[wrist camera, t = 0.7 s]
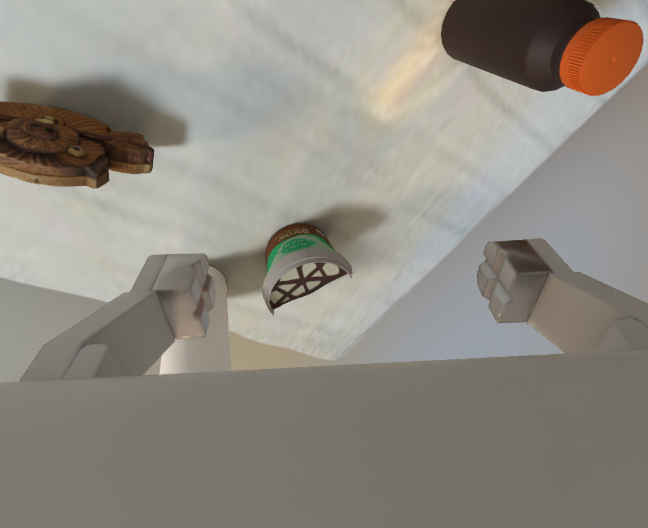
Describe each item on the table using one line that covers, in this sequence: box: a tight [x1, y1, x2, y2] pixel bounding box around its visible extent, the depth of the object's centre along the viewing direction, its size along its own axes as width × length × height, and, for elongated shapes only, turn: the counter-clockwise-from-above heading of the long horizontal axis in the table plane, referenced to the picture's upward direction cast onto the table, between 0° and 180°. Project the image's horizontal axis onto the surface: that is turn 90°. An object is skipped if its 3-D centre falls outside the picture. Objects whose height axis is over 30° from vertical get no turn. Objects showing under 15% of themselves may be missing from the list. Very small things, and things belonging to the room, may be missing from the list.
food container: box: [262, 224, 352, 315], centre depth 51 cm, size 12×6×10 cm, turn 112°
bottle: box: [159, 266, 231, 375], centre depth 44 cm, size 8×8×30 cm
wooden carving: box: [0, 102, 154, 188], centre depth 36 cm, size 16×5×10 cm, turn 75°
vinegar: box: [441, 0, 643, 96], centre depth 35 cm, size 7×7×20 cm
